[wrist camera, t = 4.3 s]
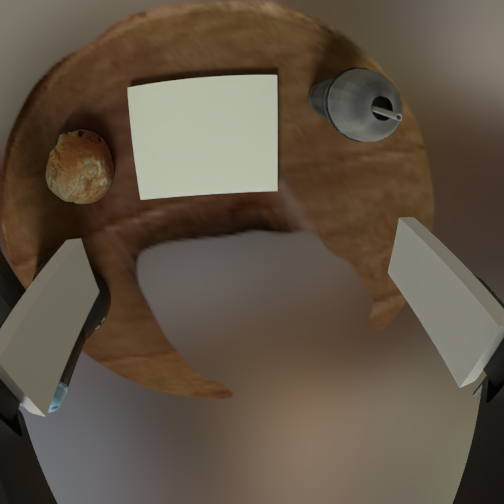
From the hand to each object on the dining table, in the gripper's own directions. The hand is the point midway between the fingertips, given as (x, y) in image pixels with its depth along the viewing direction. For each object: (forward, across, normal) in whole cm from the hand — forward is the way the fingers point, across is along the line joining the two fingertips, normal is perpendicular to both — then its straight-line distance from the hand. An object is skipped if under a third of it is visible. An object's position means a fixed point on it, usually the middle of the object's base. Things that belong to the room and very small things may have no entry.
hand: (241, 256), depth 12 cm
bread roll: (+28, -21, -1) cm, 35 cm away
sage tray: (+28, -4, +1) cm, 28 cm away
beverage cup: (+28, +12, +5) cm, 31 cm away
